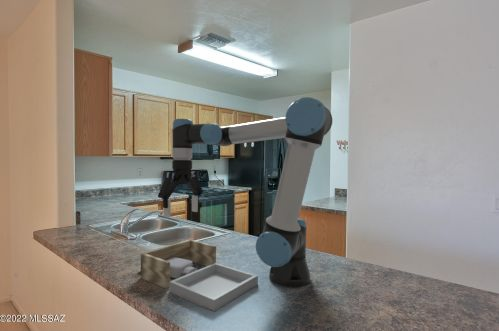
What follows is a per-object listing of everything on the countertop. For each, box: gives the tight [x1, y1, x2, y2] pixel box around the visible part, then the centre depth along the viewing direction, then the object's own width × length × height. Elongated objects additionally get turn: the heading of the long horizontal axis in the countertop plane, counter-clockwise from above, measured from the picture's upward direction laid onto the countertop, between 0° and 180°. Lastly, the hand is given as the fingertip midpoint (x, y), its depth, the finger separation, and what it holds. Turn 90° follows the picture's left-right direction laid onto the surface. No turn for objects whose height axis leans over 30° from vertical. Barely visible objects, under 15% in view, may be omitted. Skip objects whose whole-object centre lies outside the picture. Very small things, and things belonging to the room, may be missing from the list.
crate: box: [140, 239, 217, 290], centre depth 113 cm, size 15×24×9 cm, turn 144°
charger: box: [166, 257, 199, 279], centre depth 111 cm, size 5×9×15 cm
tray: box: [168, 262, 259, 313], centre depth 99 cm, size 20×22×4 cm
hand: (181, 214), depth 112 cm, fingers open, 13 cm apart
